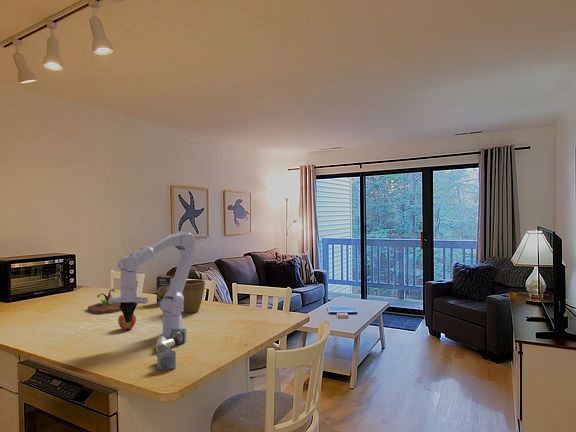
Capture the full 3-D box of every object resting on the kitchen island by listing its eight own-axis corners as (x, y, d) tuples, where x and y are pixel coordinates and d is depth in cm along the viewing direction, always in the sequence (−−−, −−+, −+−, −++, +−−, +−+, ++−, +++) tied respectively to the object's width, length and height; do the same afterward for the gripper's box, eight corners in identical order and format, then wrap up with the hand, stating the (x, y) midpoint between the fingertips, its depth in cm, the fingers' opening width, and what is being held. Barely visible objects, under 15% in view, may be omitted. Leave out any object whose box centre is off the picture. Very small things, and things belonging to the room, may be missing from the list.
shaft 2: (172, 341, 150) (172, 328, 150) (186, 341, 150) (186, 328, 150) (168, 344, 146) (168, 331, 146) (182, 345, 146) (182, 331, 146)
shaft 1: (156, 362, 128) (156, 347, 128) (173, 360, 130) (173, 345, 131) (157, 371, 121) (157, 355, 121) (175, 368, 123) (175, 352, 123)
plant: (134, 309, 205) (134, 289, 205) (96, 316, 192) (96, 294, 192) (120, 303, 219) (120, 284, 220) (84, 309, 206) (84, 289, 206)
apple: (116, 332, 163) (116, 314, 163) (119, 327, 170) (119, 310, 170) (134, 331, 165) (134, 312, 165) (136, 326, 172) (136, 309, 172)
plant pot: (203, 307, 209) (203, 278, 209) (206, 313, 195) (206, 283, 195) (175, 309, 204) (175, 280, 205) (176, 316, 190) (176, 284, 190)
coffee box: (156, 304, 217) (156, 276, 217) (162, 302, 223) (162, 275, 223) (169, 305, 214) (169, 277, 214) (176, 303, 220) (176, 275, 220)
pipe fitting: (174, 346, 147) (156, 346, 145) (175, 336, 147) (157, 336, 145) (174, 353, 139) (155, 353, 137) (175, 342, 139) (156, 342, 138)
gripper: (104, 288, 141) (104, 324, 141) (142, 288, 141) (142, 325, 141) (114, 285, 149) (114, 319, 148) (150, 285, 148) (150, 319, 148)
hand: (128, 321), depth 145 cm, fingers closed
